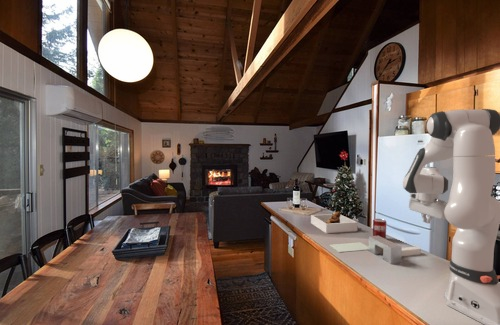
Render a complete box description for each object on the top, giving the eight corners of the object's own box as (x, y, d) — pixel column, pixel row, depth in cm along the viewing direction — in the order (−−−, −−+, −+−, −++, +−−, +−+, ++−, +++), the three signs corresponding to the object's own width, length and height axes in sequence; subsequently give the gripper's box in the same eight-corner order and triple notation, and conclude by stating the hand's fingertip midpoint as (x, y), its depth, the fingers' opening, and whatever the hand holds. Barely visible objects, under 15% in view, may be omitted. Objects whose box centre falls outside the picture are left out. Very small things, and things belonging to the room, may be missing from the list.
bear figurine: (323, 224, 184) (323, 208, 183) (344, 226, 178) (345, 210, 178) (321, 230, 171) (321, 212, 170) (344, 232, 166) (345, 214, 165)
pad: (372, 249, 137) (372, 248, 137) (339, 252, 133) (339, 251, 133) (360, 242, 147) (360, 242, 147) (329, 245, 143) (329, 244, 143)
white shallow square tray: (357, 231, 168) (357, 222, 168) (326, 233, 163) (326, 224, 163) (338, 221, 190) (338, 213, 190) (310, 223, 186) (311, 215, 186)
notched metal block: (401, 262, 121) (401, 246, 120) (390, 263, 120) (391, 247, 119) (378, 249, 136) (378, 235, 136) (368, 250, 135) (368, 236, 135)
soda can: (387, 241, 148) (388, 222, 148) (374, 241, 150) (375, 221, 149) (383, 237, 155) (384, 218, 155) (371, 236, 157) (371, 218, 156)
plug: (421, 254, 130) (421, 246, 130) (393, 257, 127) (393, 248, 127) (415, 251, 134) (415, 243, 134) (387, 254, 131) (387, 245, 131)
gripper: (452, 201, 122) (450, 228, 123) (416, 193, 142) (415, 217, 143) (441, 201, 121) (440, 229, 122) (407, 193, 141) (406, 217, 142)
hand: (426, 222), depth 133 cm, fingers closed
